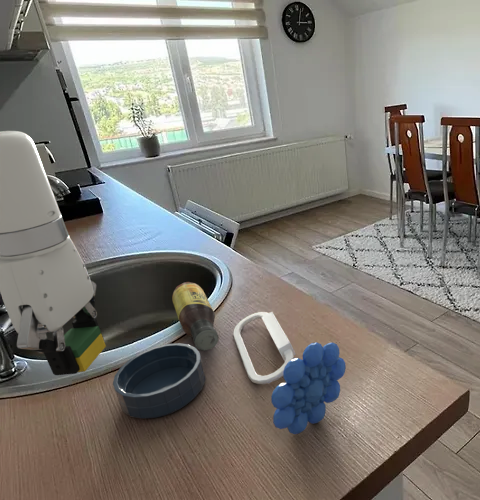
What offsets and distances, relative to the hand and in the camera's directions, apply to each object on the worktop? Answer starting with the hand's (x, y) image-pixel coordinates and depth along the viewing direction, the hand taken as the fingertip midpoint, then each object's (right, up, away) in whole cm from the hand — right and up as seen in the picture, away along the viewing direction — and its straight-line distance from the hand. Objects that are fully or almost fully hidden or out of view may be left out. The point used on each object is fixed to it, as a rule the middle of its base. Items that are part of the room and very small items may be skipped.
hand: (80, 356), depth 58 cm
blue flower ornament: (+32, -8, 0) cm, 33 cm away
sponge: (0, 0, 0) cm, 1 cm away
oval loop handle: (+23, -3, +15) cm, 27 cm away
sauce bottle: (+3, +6, +29) cm, 30 cm away
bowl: (+9, -7, +7) cm, 13 cm away
